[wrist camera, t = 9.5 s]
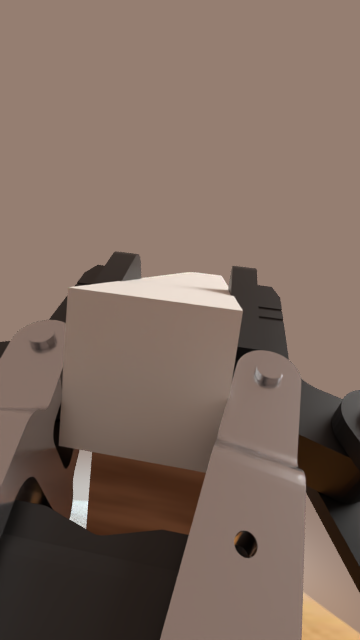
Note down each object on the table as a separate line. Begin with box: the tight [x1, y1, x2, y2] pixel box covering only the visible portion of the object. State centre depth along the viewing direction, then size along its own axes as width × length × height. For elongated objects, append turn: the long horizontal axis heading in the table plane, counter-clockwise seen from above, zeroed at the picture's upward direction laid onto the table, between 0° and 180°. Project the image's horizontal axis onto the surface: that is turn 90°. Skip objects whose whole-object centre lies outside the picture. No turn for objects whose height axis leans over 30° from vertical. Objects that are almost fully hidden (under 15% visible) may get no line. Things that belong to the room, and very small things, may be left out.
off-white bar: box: [59, 272, 243, 473], centre depth 18 cm, size 26×3×3 cm, turn 173°
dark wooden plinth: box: [86, 452, 206, 535], centre depth 31 cm, size 16×12×32 cm
